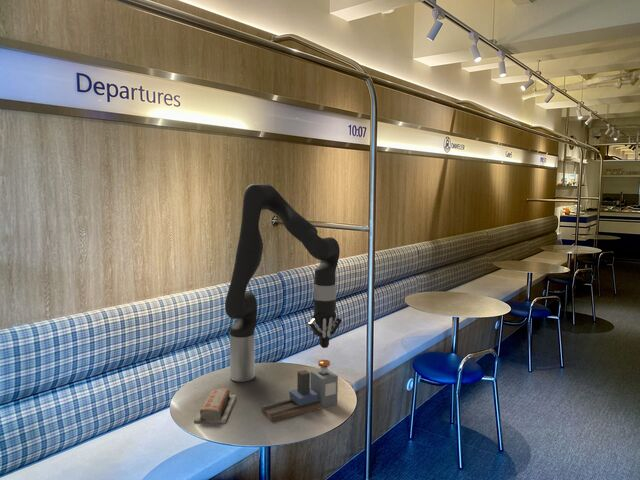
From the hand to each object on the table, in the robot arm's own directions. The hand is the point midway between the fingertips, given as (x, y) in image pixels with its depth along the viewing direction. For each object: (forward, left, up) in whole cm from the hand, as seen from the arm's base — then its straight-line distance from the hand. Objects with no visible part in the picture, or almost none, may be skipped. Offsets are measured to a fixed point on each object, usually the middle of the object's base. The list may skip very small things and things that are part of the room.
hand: (324, 347), depth 161 cm
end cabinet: (0, 0, -19) cm, 19 cm away
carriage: (0, -8, -17) cm, 19 cm away
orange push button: (0, 0, -11) cm, 11 cm away
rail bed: (0, -13, -19) cm, 23 cm away
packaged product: (-12, -34, -20) cm, 41 cm away
